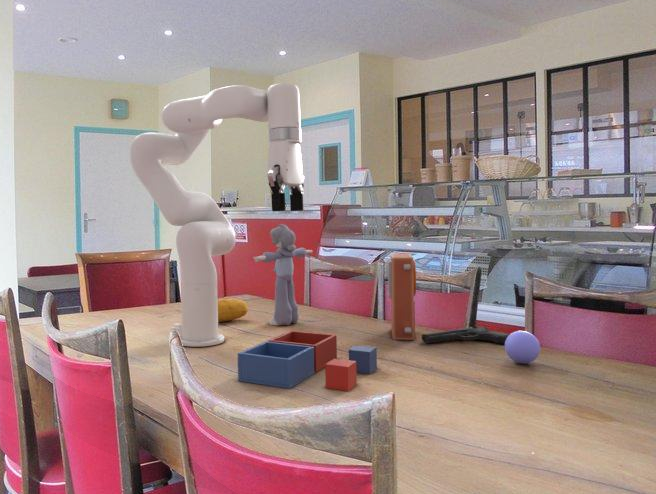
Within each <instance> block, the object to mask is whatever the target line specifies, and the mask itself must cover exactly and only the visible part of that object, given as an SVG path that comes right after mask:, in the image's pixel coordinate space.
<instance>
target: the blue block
mask: <svg viewBox="0 0 656 494" xmlns="http://www.w3.org/2000/svg"><path fill="white" fill-rule="evenodd" d="M377 352H378V348H377V347H376V346H370V345H369V346H368V345H360V344H359V345H358V344H357V345H354V346H352V347H351V348H349V349H348V360H350V361H356V374H358V373H360V374H365V375H371V374H372V373H374V372H375V371H376V370H377V369H378V353H377Z"/></svg>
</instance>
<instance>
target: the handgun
mask: <svg viewBox="0 0 656 494" xmlns="http://www.w3.org/2000/svg"><path fill="white" fill-rule="evenodd" d="M510 334H511V333H506V332H502V331H501V332H499V331H495V330H489V329H488V327H487V326H486V325H485V326H478V325H473V326H468V327H463V328H461V327H460V328H456V329H448V330H442V331H436V332H435V331H434V332H429V333H423V334H421V340H422V342H423V343H425V344H430V343H436V342H445V341H454V340H462V341H474V340H482V341H489V342H493V343H496V344H500V345H505V341H506V339H507V337H508V336H509V335H510Z"/></svg>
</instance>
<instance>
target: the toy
mask: <svg viewBox="0 0 656 494" xmlns="http://www.w3.org/2000/svg"><path fill="white" fill-rule="evenodd" d="M269 236H270V238H271V239H272V242H271V243H272V245H275V246H276V247H277V249H276V250H275V252H272V251H271V252H270V251H265V252H263V253H262V255H258V256H253V260H254V262H255V263H258V262H260V261H262V262H263V263H264V264H269V263H272V262H274V263H275V265H274V266H273V273H274V274H276V279H275V281H274V314H273V316H272V317H271V318H270V320H269V325H270V326H290V325H291V324H296V323H297V322H298V321H299V305H298V304H297V301H296V297H295V296H296V295H295V283H294V281H293V278H294V277H293V275H294V267H295V266H294V262H293V258H298V259H299V258H300V259H303V258H305V257H306V255H308V254H313V251H314V250H312V249H306V248H305V247H298V248H297V246H296V245H295V244H296V239H297V237H296V233H295V232H294V231H293V230H292V229H290V228H289V227H288V226H287V225H286V224H283V223H280V224H278V226H277V227H274V228H272V229H271V230H270V232H269Z"/></svg>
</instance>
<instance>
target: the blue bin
mask: <svg viewBox="0 0 656 494" xmlns="http://www.w3.org/2000/svg"><path fill="white" fill-rule="evenodd" d="M314 374H315V372H314V347H311V346H303V345H294V344H285V343H275V342H268V341H263V342H261V343H259V344H256V345H253V346H252V347H249V348H247V349H244V350H242V351H240V352H238V353H237V381H238V382H242V383H243V382H245V383H251V384H257V385H262V386H270V387H275V388H282V389H292V388H293V387H295V386H296V385H299V384H300V383H301V382H303V381H305V380H306V379H308V378H309V377H312V376H313V375H314Z"/></svg>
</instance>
